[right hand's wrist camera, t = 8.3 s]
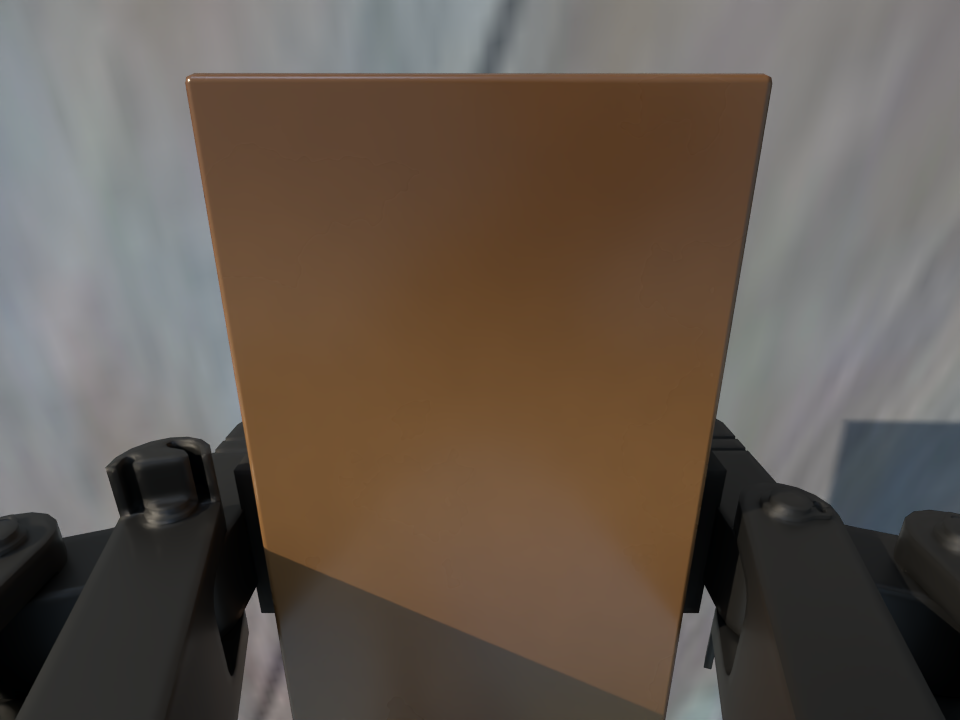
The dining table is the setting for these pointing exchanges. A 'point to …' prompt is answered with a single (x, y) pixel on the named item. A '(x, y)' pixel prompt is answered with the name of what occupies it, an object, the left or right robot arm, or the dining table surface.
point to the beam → (478, 372)
